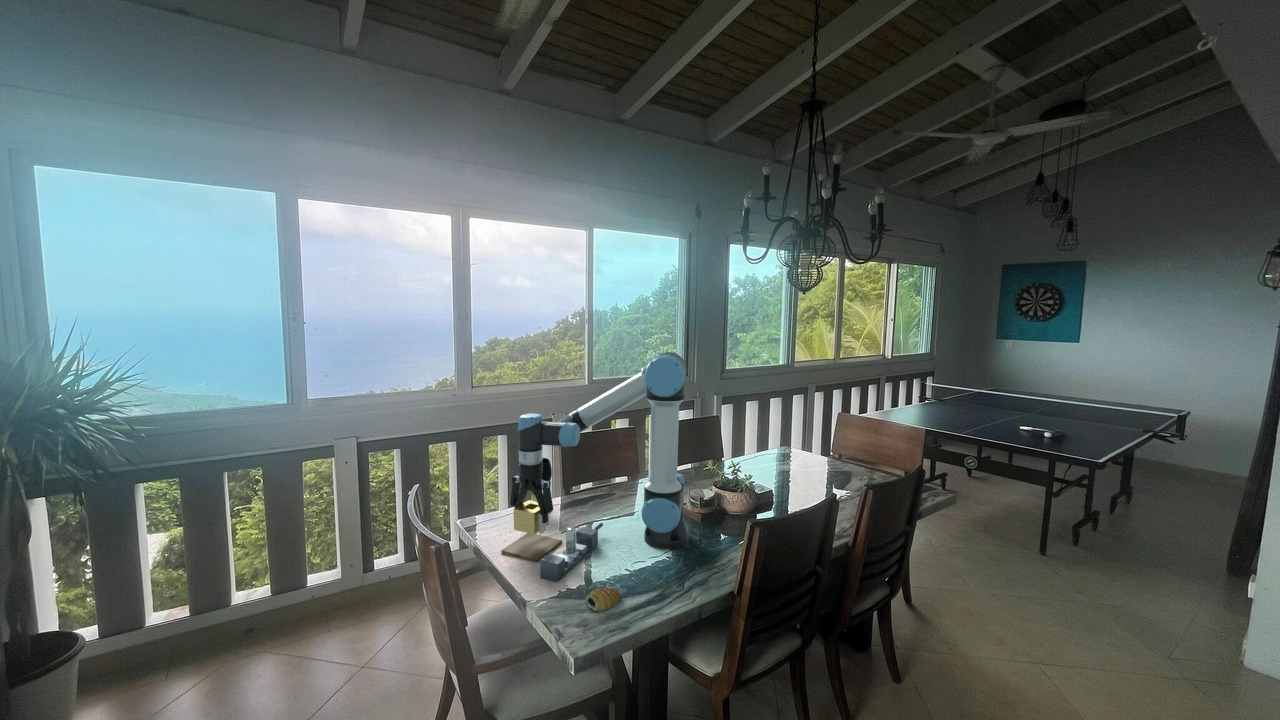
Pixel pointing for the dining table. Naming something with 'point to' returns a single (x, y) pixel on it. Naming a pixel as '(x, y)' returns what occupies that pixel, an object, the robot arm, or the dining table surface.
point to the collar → (527, 517)
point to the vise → (569, 553)
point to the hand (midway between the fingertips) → (531, 529)
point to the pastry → (602, 599)
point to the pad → (532, 547)
